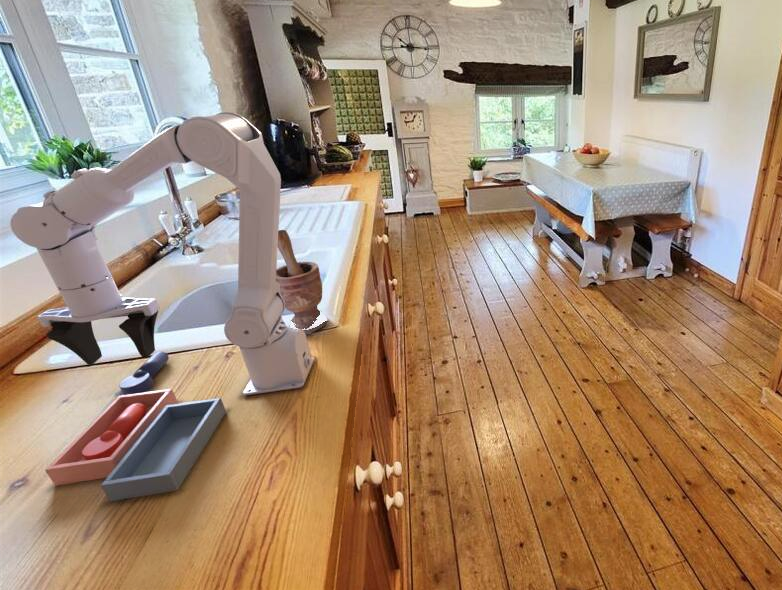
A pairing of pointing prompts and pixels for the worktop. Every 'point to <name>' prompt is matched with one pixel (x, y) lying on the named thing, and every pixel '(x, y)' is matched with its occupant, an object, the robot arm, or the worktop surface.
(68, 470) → the red bin
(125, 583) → the worktop surface
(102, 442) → the red rubber stamp
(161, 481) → the blue bin
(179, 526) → the worktop surface
